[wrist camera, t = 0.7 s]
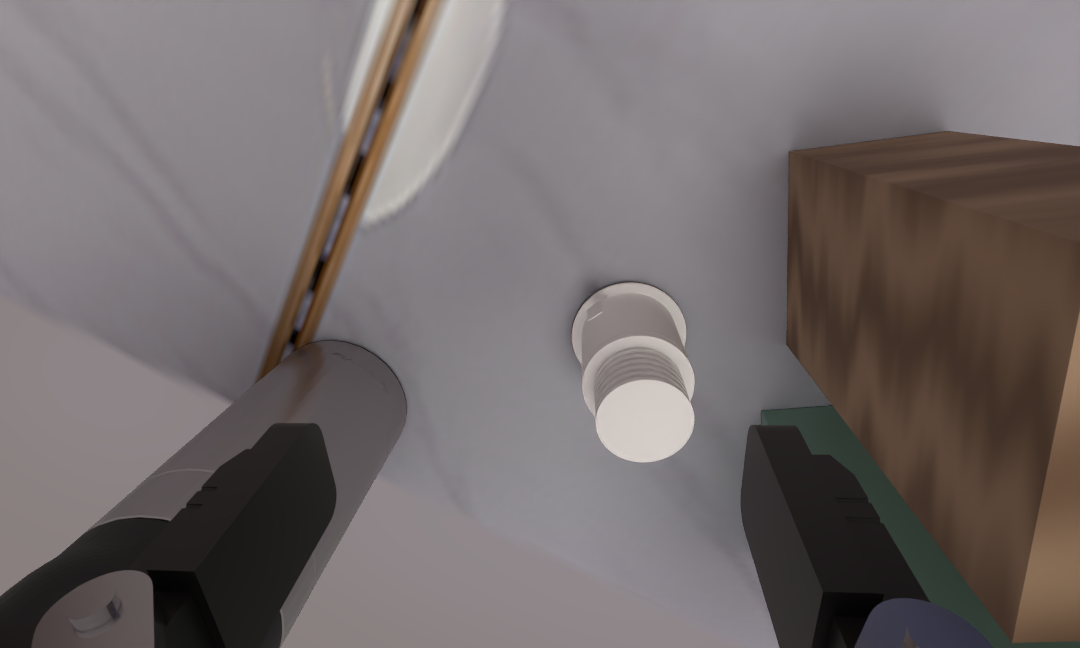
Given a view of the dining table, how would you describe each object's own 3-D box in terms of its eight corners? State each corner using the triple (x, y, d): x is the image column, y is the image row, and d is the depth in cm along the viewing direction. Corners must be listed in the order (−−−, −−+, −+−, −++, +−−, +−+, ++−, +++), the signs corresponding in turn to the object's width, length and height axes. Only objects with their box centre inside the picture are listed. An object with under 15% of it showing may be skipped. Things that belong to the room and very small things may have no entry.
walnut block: (926, 332, 35) (1341, 635, 16) (786, 344, 36) (1012, 643, 17) (947, 131, 31) (1546, 200, 12) (789, 151, 32) (1093, 246, 13)
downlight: (545, 314, 37) (534, 397, 28) (641, 252, 35) (664, 319, 26) (615, 405, 39) (627, 510, 30) (709, 352, 37) (753, 446, 28)
